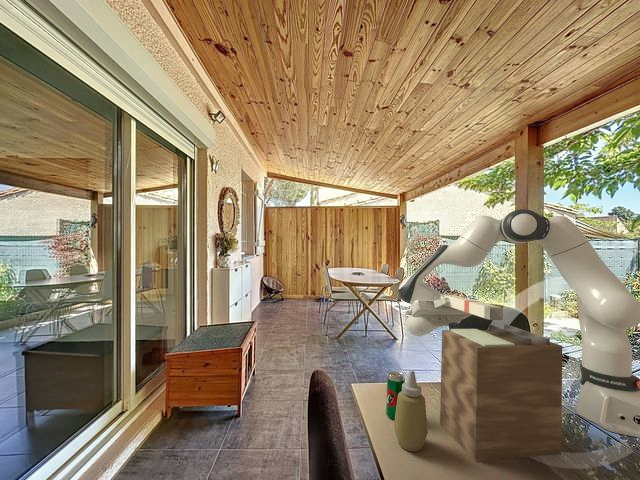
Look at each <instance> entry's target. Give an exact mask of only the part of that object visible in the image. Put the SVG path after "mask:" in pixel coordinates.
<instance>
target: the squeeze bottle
mask: <svg viewBox="0 0 640 480" xmlns="http://www.w3.org/2000/svg"><path fill="white" fill-rule="evenodd" d="M415 373H416V372H415V371H414V370H409V372H408V377H407V380H406V381H405V383H403V384H402V391H401V392H399V394H398V398H397V406H396V413H395V420H394V423H393V428H394V432H395V436H396V439H397V443H398V445H399V446H400V447H401V448H402V449H404V450H406V451H409V452H419V451H421V450H422V449H423V446H424V444H425V441H426V439H427V437H428V433H429V432H428V420H427V419H428V418H427V409H426V408H427V407H426V398H425V396H424V395H423V394H422V387H421V385H420V384H418V383H417V379H416V374H415Z"/></svg>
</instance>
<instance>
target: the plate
mask: <svg viewBox="0 0 640 480" xmlns="http://www.w3.org/2000/svg"><path fill="white" fill-rule="evenodd" d="M450 330H451V331H453V332H455V333H457V334H459V335H461V336H464V337H466V338H468V339H470V340H472V341H474V342H476V343H479V344H481V345H483V346H515V344H513V343H511V342H508V341H506V340H503V339H501V338H498V337H496V336H493V335H491V334H488V333H486V332H483V331H481V330H482V329H478V328H450Z"/></svg>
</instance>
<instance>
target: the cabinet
mask: <svg viewBox="0 0 640 480" xmlns="http://www.w3.org/2000/svg"><path fill="white" fill-rule="evenodd" d="M503 327H504V328H502V327H499V326H496V325H493V324H488V329H480V330H481V331H483V332H486V333H488V334H491V335H493V336H496V337H498V338H501V339H503V340H506V341H508V342H511V343H513V344H515V346H483V345H481V344H479V343H476V342H474V341H472V340H470V339H468V338H466V337H464V336H461V335H459V334H457V333H455V332H453V331H451V329H444V330H443V329H442V330H441V358H440V359H441V360H440V361H441V362H440V364H441V365H440V367H441V368H440V405H439V406H440V407H439V408H440V411H439V425H441V427H442V428H443V429H444V430H445V431H446V432H447V433H448V434H449V435H450V436H451V437H452V438H453V439H454V440H455V441H456V443H457V444H458V445H459V446H460V447H461V448H462V449H463V450H464V451H465V452H466V453H467V454H468V455H469V456H470V457H471V458H472V459H473V460H474V462H478V461H480V460H481V461H491V460H502V459H516V458H525V457H526V458H528V457H538V456H539V457H540V456H550V455H562V422H563V421H562V418H563V417H562V410H563V409H562V408H563V407H562V406H563V402H562V401H563V398H562V397H563V345H561V344H558V343H555V342H553V341H550V340H551V339H550V337H546V336H544V335H539V334H536V333H533V332H531V331H527V330H524V329H521V328H519V327H515V326H512V325H510V324H507V323H506V324H504V325H503Z"/></svg>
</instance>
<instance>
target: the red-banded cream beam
mask: <svg viewBox="0 0 640 480" xmlns="http://www.w3.org/2000/svg"><path fill="white" fill-rule="evenodd" d="M444 297H447V298H449V300H450V303H449V304H447V305H446V306H449V307H452V308H455V309H458V310H461V311H464V312H467V313H470V314H472V315H474V316H475V317H476V316H477V317H480V318H482V319H486V320H489V321H503V320H504V319H503V318H504V307H502V306H497V305H494V304H490V303H487V302H484V301H483V302H482V301H480V300H475V299H471V298H468V297H463V296H459V295H456V294H452V293H441V299H442V298H444Z"/></svg>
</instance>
